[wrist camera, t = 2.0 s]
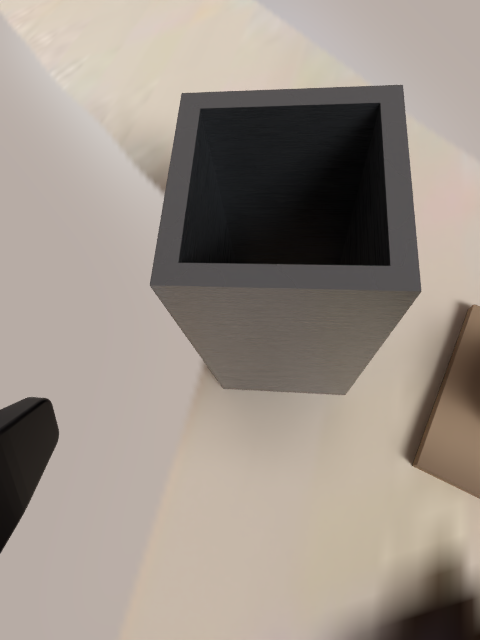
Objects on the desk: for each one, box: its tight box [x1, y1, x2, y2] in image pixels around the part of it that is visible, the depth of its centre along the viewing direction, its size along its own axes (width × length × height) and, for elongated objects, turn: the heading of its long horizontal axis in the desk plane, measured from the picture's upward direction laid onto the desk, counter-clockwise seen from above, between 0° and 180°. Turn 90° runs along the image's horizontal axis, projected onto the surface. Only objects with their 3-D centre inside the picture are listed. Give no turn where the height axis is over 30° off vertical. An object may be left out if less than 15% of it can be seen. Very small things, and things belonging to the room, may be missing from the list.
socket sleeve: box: [150, 85, 421, 395], centre depth 16 cm, size 6×6×12 cm
